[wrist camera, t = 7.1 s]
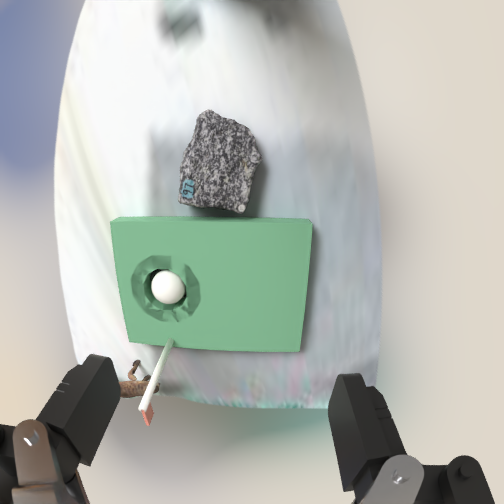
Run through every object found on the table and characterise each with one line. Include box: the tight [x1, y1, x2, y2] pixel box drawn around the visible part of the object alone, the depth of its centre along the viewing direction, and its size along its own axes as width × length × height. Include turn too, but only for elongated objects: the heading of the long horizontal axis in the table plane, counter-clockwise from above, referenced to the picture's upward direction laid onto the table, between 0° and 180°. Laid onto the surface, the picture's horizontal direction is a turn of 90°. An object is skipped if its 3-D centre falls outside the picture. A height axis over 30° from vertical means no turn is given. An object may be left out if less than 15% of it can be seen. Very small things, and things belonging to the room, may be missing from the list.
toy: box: [119, 360, 160, 398], centre depth 37 cm, size 6×9×15 cm
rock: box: [178, 110, 262, 214], centre depth 29 cm, size 8×10×4 cm
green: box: [110, 217, 313, 352], centre depth 33 cm, size 16×22×2 cm
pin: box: [139, 338, 174, 426], centre depth 29 cm, size 3×1×12 cm, turn 179°
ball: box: [151, 269, 186, 304], centre depth 33 cm, size 4×4×4 cm
